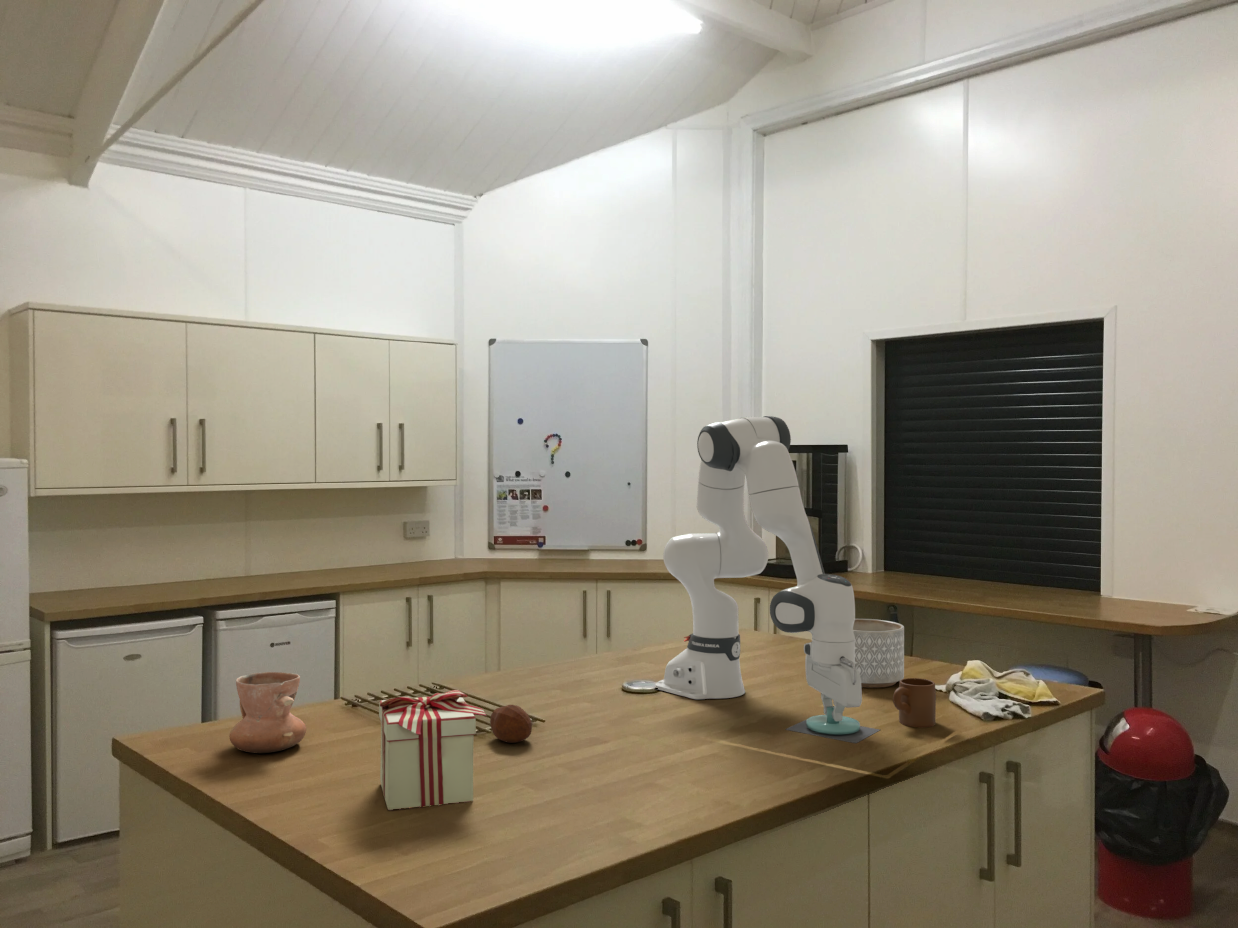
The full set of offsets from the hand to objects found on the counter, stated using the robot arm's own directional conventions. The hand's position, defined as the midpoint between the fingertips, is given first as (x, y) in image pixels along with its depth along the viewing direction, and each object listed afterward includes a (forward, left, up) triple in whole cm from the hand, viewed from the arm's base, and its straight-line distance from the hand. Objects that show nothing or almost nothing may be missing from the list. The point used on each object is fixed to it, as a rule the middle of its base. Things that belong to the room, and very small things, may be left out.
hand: (832, 717), depth 209 cm
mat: (0, 0, -3) cm, 3 cm away
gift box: (-38, -77, -3) cm, 86 cm away
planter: (-14, +48, -3) cm, 50 cm away
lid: (0, 0, -2) cm, 2 cm away
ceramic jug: (-85, -79, -3) cm, 116 cm away
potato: (-49, -46, -3) cm, 67 cm away
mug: (+12, +14, -3) cm, 18 cm away
